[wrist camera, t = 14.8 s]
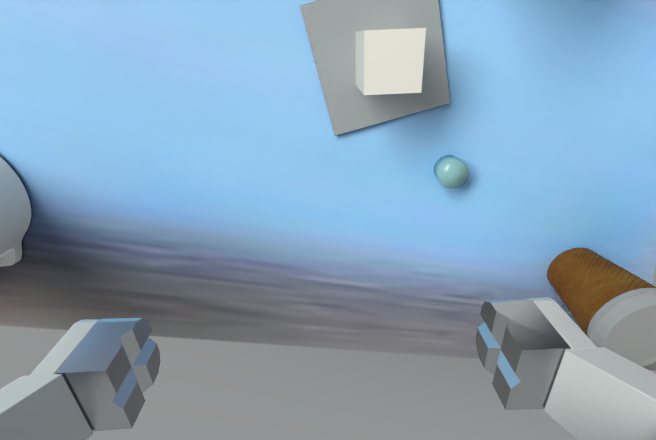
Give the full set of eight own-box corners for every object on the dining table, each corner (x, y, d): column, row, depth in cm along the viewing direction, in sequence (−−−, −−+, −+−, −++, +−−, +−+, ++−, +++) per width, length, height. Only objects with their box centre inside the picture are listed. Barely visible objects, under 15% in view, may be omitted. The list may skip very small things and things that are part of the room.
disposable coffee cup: (518, 280, 47) (577, 351, 36) (573, 223, 44) (657, 284, 33) (570, 307, 49) (640, 382, 39) (626, 255, 46) (720, 322, 35)
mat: (334, 134, 38) (334, 135, 37) (300, 6, 33) (299, 5, 32) (448, 102, 37) (450, 103, 36) (431, -36, 31) (434, -38, 31)
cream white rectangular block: (355, 85, 35) (364, 95, 29) (355, 31, 33) (364, 30, 27) (402, 82, 35) (421, 92, 29) (405, 29, 33) (426, 27, 27)
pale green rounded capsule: (442, 185, 41) (448, 193, 39) (428, 166, 40) (434, 172, 38) (465, 170, 40) (473, 176, 38) (452, 149, 39) (459, 155, 37)
